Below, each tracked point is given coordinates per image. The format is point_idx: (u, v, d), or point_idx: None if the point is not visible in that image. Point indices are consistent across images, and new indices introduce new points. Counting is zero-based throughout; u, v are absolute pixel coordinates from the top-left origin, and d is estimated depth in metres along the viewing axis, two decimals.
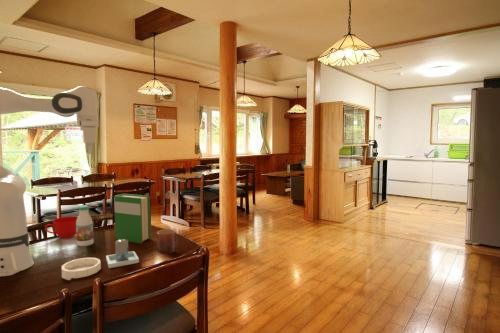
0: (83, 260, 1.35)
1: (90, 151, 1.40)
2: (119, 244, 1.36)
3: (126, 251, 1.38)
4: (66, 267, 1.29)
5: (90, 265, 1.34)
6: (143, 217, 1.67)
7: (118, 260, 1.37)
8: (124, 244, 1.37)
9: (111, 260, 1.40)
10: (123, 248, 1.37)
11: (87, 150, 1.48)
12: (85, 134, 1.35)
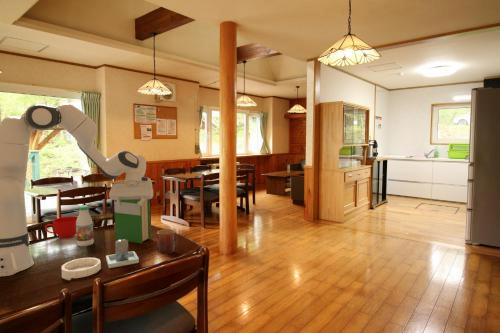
0: (83, 260, 1.35)
1: (141, 203, 1.51)
2: (119, 244, 1.36)
3: (126, 251, 1.38)
4: (66, 267, 1.29)
5: (90, 265, 1.34)
6: (143, 217, 1.67)
7: (118, 260, 1.37)
8: (124, 244, 1.37)
9: (111, 260, 1.40)
10: (123, 248, 1.37)
11: (120, 203, 1.50)
12: (151, 188, 1.55)
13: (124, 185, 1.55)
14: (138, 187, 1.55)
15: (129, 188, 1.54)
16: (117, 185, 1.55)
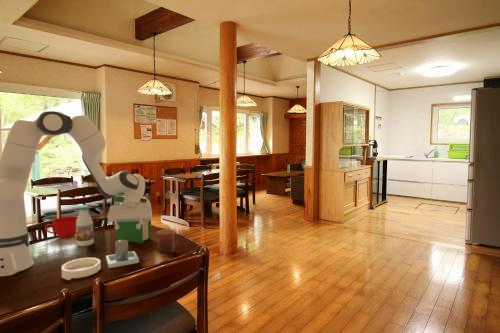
0: (83, 260, 1.35)
1: (139, 226, 1.48)
2: (119, 244, 1.36)
3: (126, 251, 1.38)
4: (66, 267, 1.29)
5: (90, 265, 1.34)
6: None
7: (118, 260, 1.37)
8: (124, 244, 1.37)
9: (111, 260, 1.40)
10: (123, 248, 1.37)
11: (118, 226, 1.47)
12: (150, 210, 1.52)
13: (122, 207, 1.52)
14: (137, 209, 1.52)
15: (128, 210, 1.51)
16: (115, 207, 1.52)
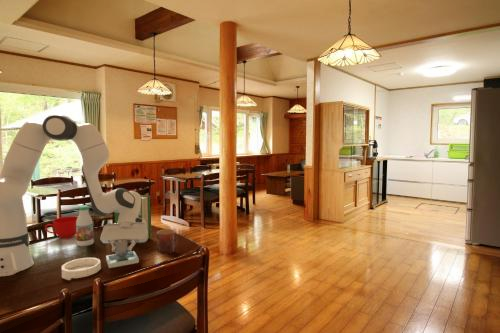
0: (83, 260, 1.35)
1: (131, 248, 1.40)
2: (119, 244, 1.36)
3: (126, 251, 1.38)
4: (66, 267, 1.29)
5: (90, 265, 1.34)
6: (144, 217, 1.67)
7: (118, 260, 1.37)
8: (124, 244, 1.37)
9: (111, 260, 1.40)
10: (123, 248, 1.37)
11: (115, 248, 1.38)
12: (146, 231, 1.43)
13: (117, 227, 1.44)
14: (132, 229, 1.44)
15: (122, 231, 1.43)
16: (109, 227, 1.43)
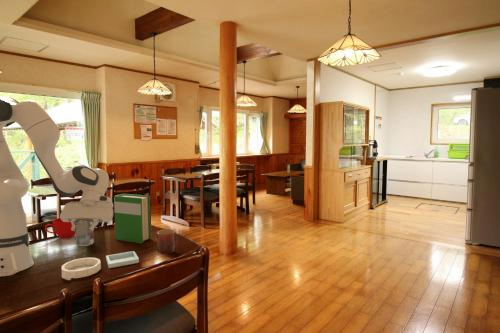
0: (83, 260, 1.35)
1: (93, 228, 1.29)
2: (79, 224, 1.26)
3: (87, 232, 1.28)
4: (66, 267, 1.29)
5: (90, 265, 1.34)
6: (144, 217, 1.67)
7: (78, 242, 1.27)
8: (85, 225, 1.27)
9: (111, 260, 1.40)
10: (84, 229, 1.27)
11: (75, 227, 1.28)
12: (111, 210, 1.33)
13: (79, 205, 1.33)
14: (95, 208, 1.33)
15: (85, 209, 1.33)
16: (71, 205, 1.33)
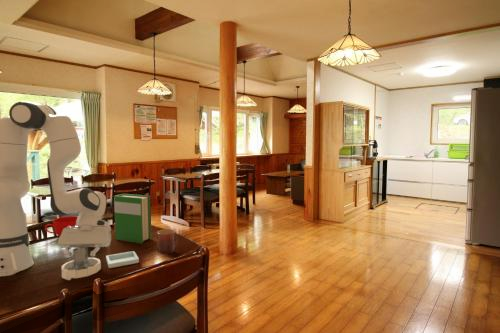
0: None
1: (95, 253, 1.29)
2: (77, 253, 1.26)
3: (85, 260, 1.28)
4: (66, 267, 1.29)
5: (90, 265, 1.34)
6: (144, 217, 1.67)
7: None
8: (83, 252, 1.27)
9: (111, 260, 1.40)
10: (81, 257, 1.27)
11: (70, 253, 1.28)
12: (108, 234, 1.33)
13: (76, 230, 1.33)
14: (93, 233, 1.33)
15: (83, 234, 1.32)
16: (68, 230, 1.33)
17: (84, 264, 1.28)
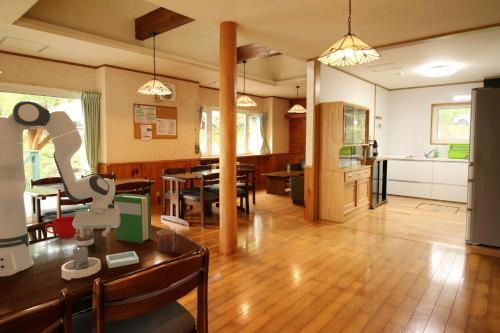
0: None
1: (106, 233, 1.42)
2: (77, 253, 1.26)
3: (85, 260, 1.28)
4: (66, 267, 1.29)
5: (90, 265, 1.34)
6: (144, 217, 1.67)
7: None
8: (83, 252, 1.27)
9: (111, 260, 1.40)
10: (81, 257, 1.27)
11: (83, 233, 1.41)
12: (118, 217, 1.46)
13: (89, 213, 1.46)
14: (104, 215, 1.46)
15: (95, 217, 1.45)
16: (81, 213, 1.45)
17: (84, 264, 1.28)
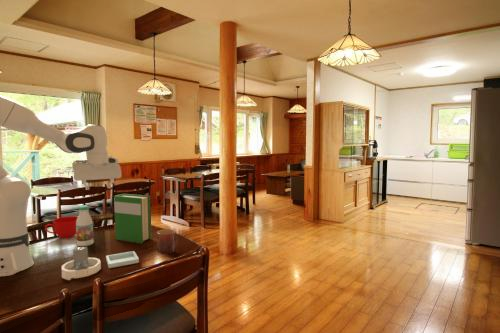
0: None
1: None
2: (77, 253, 1.26)
3: (85, 260, 1.28)
4: (66, 267, 1.29)
5: (90, 265, 1.34)
6: (144, 217, 1.67)
7: None
8: (83, 252, 1.27)
9: (111, 260, 1.40)
10: (81, 257, 1.27)
11: None
12: (120, 170, 1.51)
13: (89, 166, 1.44)
14: (105, 168, 1.48)
15: (96, 170, 1.46)
16: (80, 167, 1.42)
17: (84, 264, 1.28)
